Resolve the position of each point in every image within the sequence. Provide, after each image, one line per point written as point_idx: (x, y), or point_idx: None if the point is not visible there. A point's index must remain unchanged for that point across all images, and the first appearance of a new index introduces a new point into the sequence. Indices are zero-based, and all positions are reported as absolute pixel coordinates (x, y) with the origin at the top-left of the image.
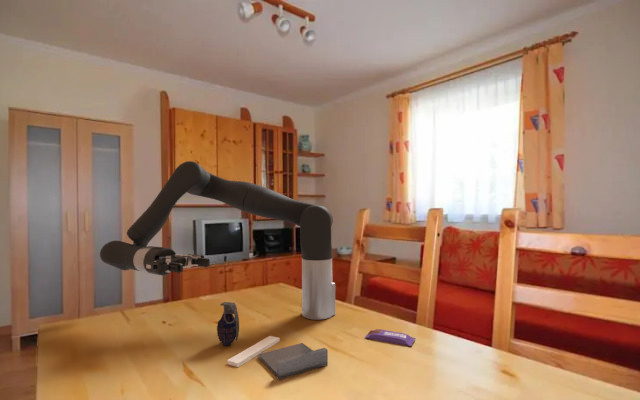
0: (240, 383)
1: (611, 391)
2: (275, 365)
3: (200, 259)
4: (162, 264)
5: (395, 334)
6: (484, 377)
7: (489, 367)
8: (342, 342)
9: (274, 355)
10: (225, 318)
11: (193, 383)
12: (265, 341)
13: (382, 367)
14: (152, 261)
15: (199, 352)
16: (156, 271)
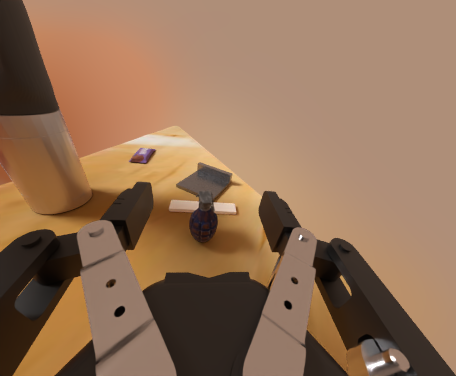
0: (248, 195)
1: (177, 126)
2: (221, 185)
3: (135, 210)
4: (330, 242)
5: (143, 150)
6: (181, 139)
7: (171, 137)
8: (158, 171)
9: (208, 190)
10: (212, 209)
11: None
12: (185, 205)
13: (189, 157)
14: (414, 351)
15: (235, 251)
16: (341, 282)
